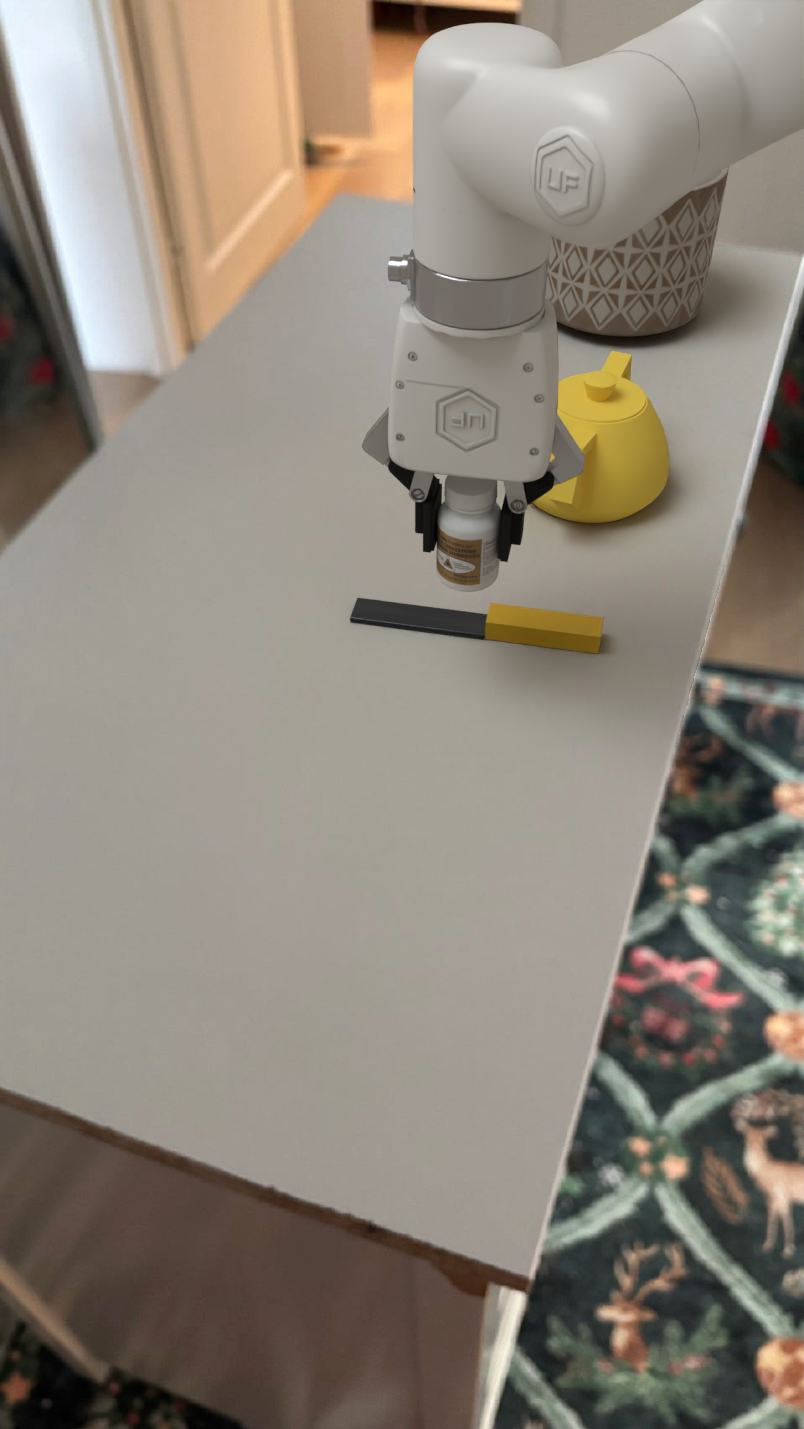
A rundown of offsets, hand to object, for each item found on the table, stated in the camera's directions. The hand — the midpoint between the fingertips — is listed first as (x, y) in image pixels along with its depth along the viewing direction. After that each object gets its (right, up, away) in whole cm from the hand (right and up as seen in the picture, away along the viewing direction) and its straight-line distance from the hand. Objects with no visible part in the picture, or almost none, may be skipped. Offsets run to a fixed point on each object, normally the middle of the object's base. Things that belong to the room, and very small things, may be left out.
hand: (468, 542), depth 74 cm
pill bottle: (0, -2, +2) cm, 3 cm away
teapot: (+11, +10, +27) cm, 31 cm away
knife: (+1, -5, +13) cm, 14 cm away
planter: (+20, +35, +51) cm, 65 cm away
